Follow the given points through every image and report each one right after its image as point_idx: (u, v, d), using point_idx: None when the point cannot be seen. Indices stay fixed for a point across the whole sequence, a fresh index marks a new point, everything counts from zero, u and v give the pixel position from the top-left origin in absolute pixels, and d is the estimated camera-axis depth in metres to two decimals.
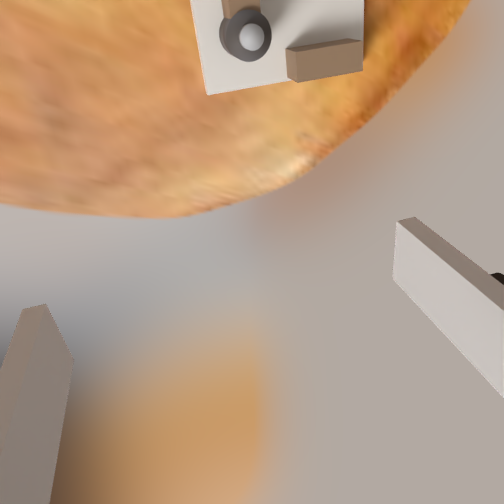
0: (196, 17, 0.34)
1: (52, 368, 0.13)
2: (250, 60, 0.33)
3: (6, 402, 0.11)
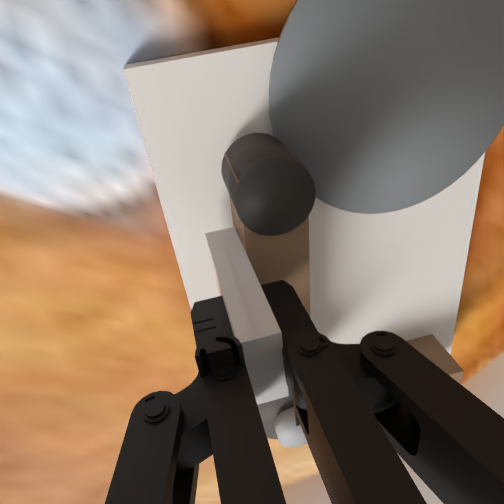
0: None
1: None
2: None
3: (236, 288, 0.13)
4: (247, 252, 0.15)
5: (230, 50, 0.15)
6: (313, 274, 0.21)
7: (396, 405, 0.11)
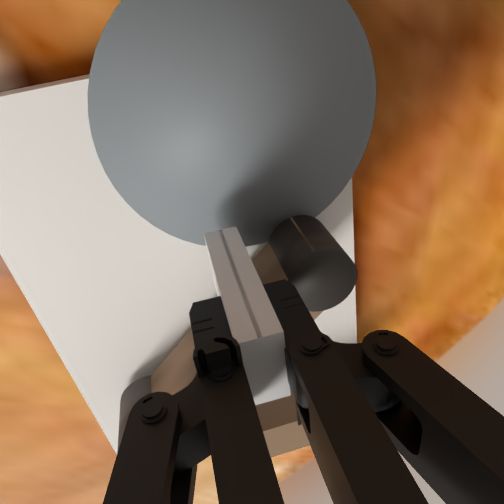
0: (82, 388, 0.21)
1: None
2: None
3: (235, 288, 0.13)
4: None
5: (38, 89, 0.14)
6: (185, 309, 0.20)
7: (398, 404, 0.11)
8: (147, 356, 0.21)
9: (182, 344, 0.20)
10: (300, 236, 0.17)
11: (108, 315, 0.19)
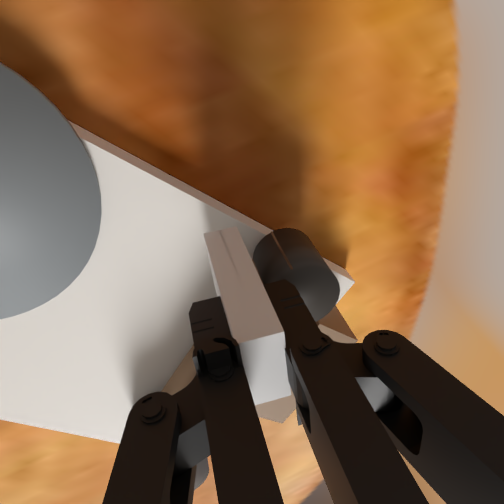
0: (112, 439, 0.23)
1: None
2: None
3: (235, 288, 0.13)
4: None
5: None
6: (106, 346, 0.20)
7: (398, 404, 0.11)
8: (126, 393, 0.22)
9: (183, 364, 0.20)
10: (279, 252, 0.17)
11: (59, 390, 0.21)
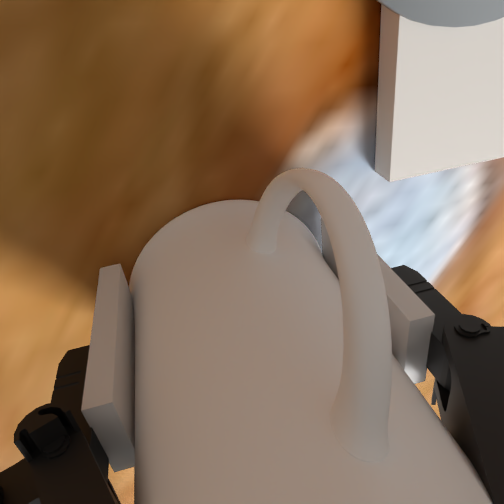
0: None
1: (129, 319, 0.15)
2: None
3: (106, 337, 0.12)
4: None
5: (395, 74, 0.14)
6: None
7: None
8: None
9: None
10: None
11: None
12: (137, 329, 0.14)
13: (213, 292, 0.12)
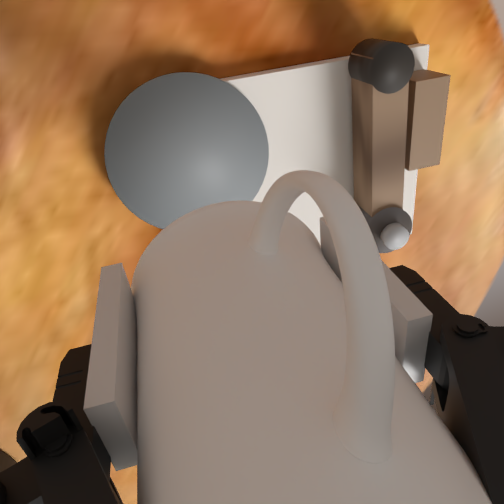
0: None
1: (131, 318, 0.15)
2: (387, 251, 0.32)
3: (108, 336, 0.12)
4: (373, 106, 0.26)
5: None
6: None
7: None
8: None
9: (355, 170, 0.31)
10: (362, 58, 0.26)
11: None
12: (139, 330, 0.14)
13: (216, 293, 0.12)
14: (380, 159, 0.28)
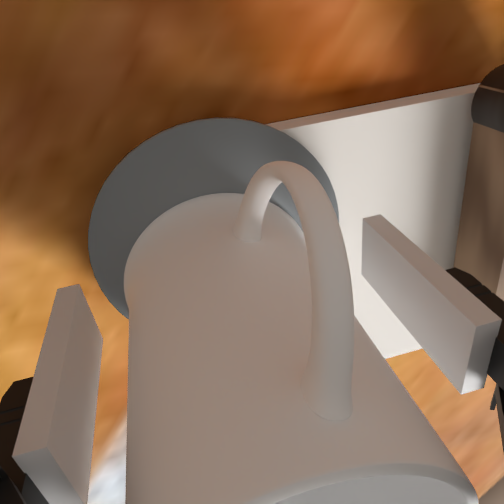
0: None
1: (87, 344, 0.14)
2: None
3: (52, 370, 0.11)
4: None
5: None
6: None
7: None
8: None
9: (459, 252, 0.21)
10: None
11: (369, 328, 0.24)
12: (131, 314, 0.15)
13: (200, 277, 0.13)
14: None
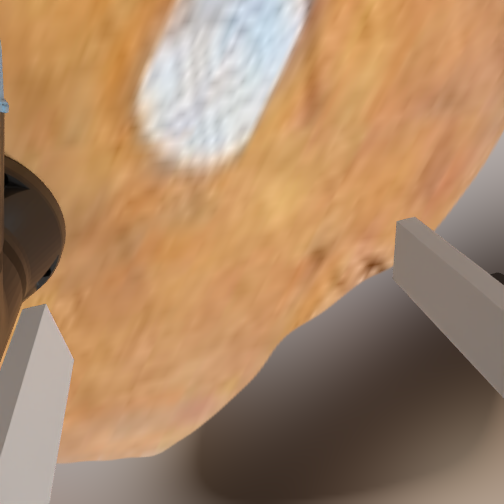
0: None
1: (52, 368, 0.13)
2: None
3: (6, 402, 0.11)
4: None
5: None
6: None
7: None
8: None
9: None
10: None
11: None
12: None
13: None
14: None
